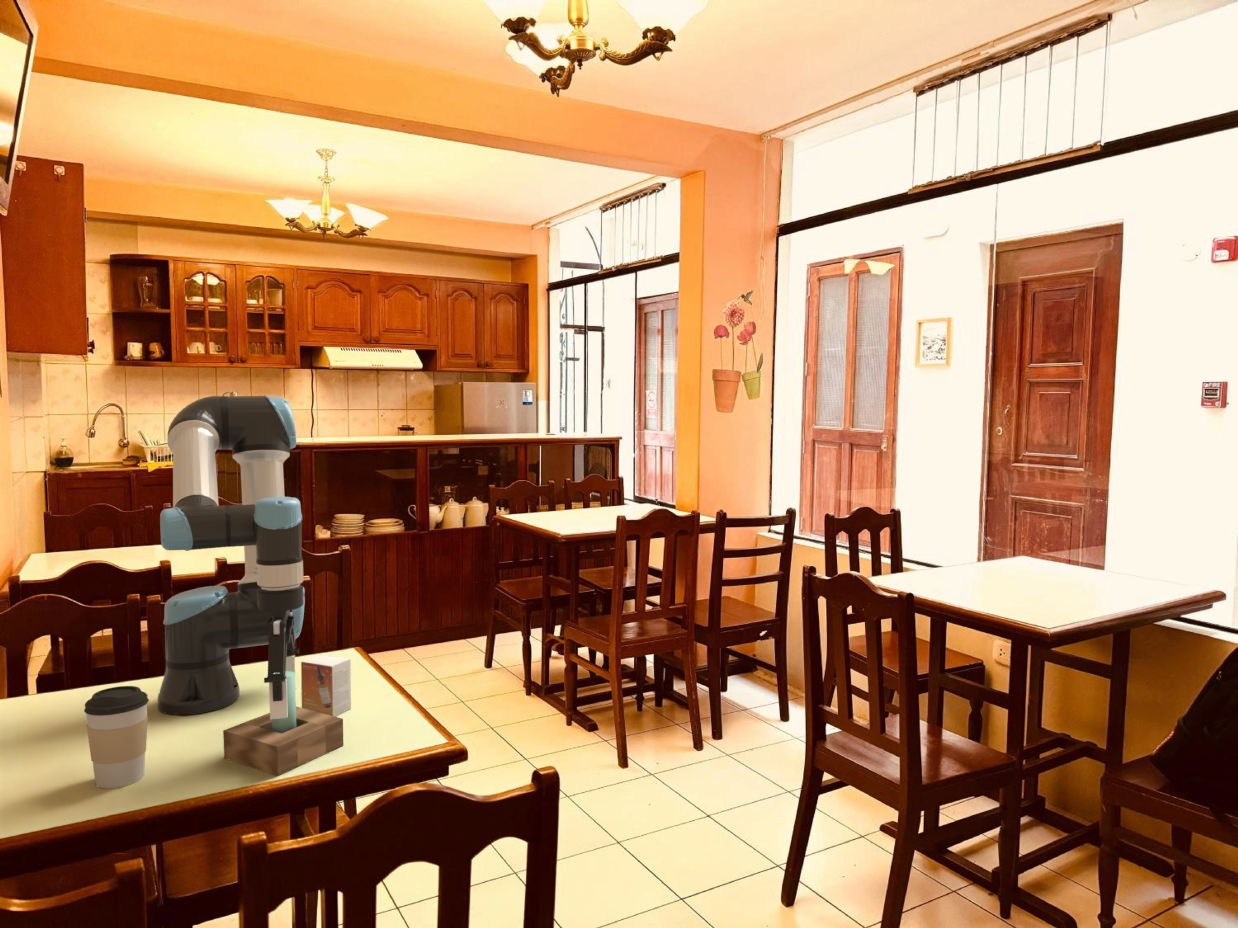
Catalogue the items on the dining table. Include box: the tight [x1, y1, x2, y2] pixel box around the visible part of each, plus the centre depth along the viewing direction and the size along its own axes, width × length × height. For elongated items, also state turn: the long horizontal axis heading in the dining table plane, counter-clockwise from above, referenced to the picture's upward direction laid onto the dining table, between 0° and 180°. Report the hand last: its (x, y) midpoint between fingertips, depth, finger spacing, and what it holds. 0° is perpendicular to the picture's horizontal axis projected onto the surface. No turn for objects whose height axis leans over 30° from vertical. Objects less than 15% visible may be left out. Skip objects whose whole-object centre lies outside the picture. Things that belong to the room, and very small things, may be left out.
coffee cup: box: [83, 685, 150, 789], centre depth 136 cm, size 9×9×15 cm
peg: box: [272, 671, 297, 734], centre depth 146 cm, size 4×4×14 cm
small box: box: [300, 654, 352, 717], centre depth 166 cm, size 8×6×10 cm
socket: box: [222, 706, 344, 777], centre depth 147 cm, size 14×14×5 cm
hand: (283, 703), depth 146 cm, fingers open, 13 cm apart
